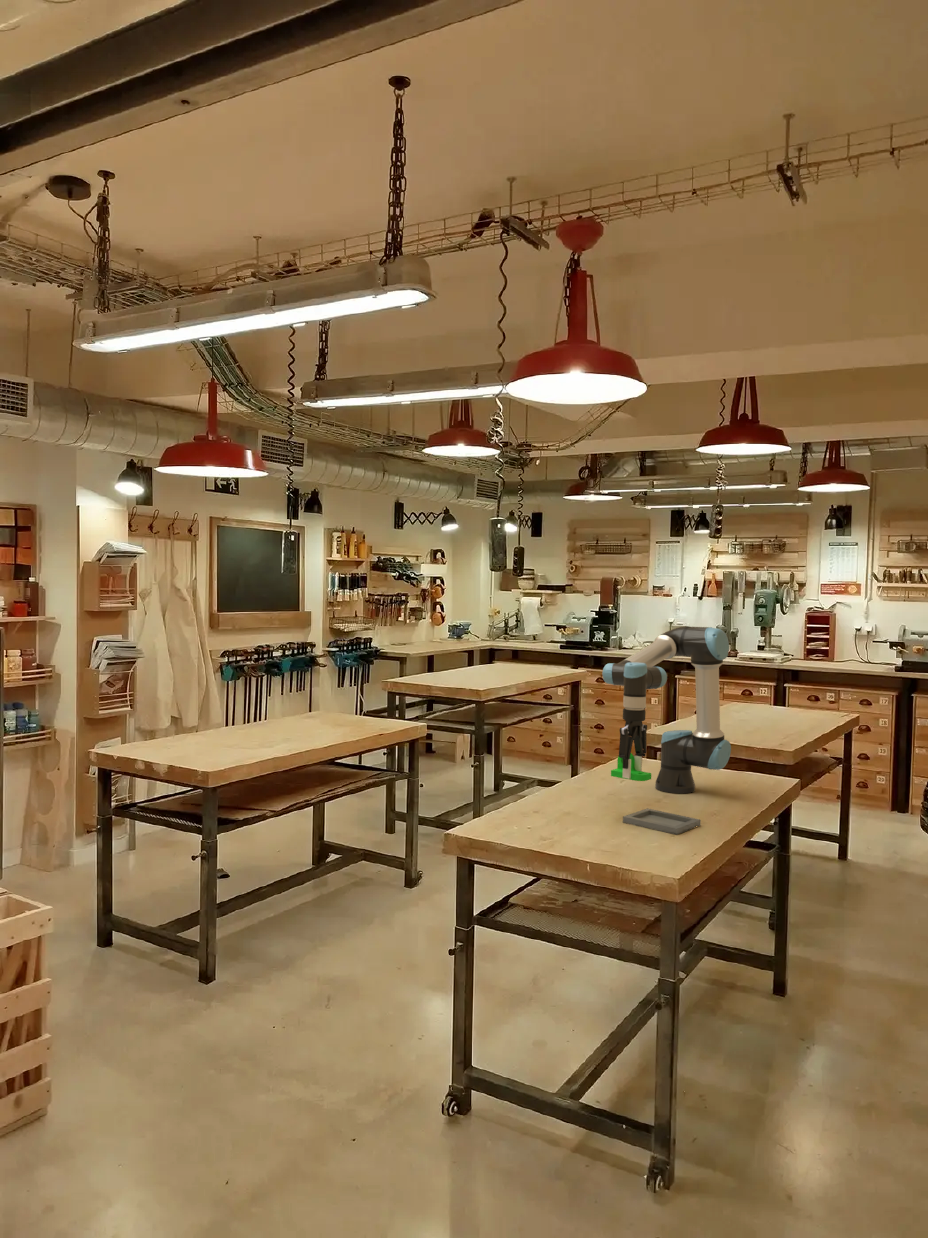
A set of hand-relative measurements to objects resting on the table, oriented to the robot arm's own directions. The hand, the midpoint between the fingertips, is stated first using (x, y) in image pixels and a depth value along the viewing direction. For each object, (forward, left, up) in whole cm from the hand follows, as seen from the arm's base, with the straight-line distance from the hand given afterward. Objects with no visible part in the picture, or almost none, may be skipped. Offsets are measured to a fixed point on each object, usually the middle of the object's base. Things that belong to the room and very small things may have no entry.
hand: (632, 776), depth 296 cm
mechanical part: (0, 0, -1) cm, 1 cm away
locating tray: (-3, +10, -15) cm, 18 cm away
